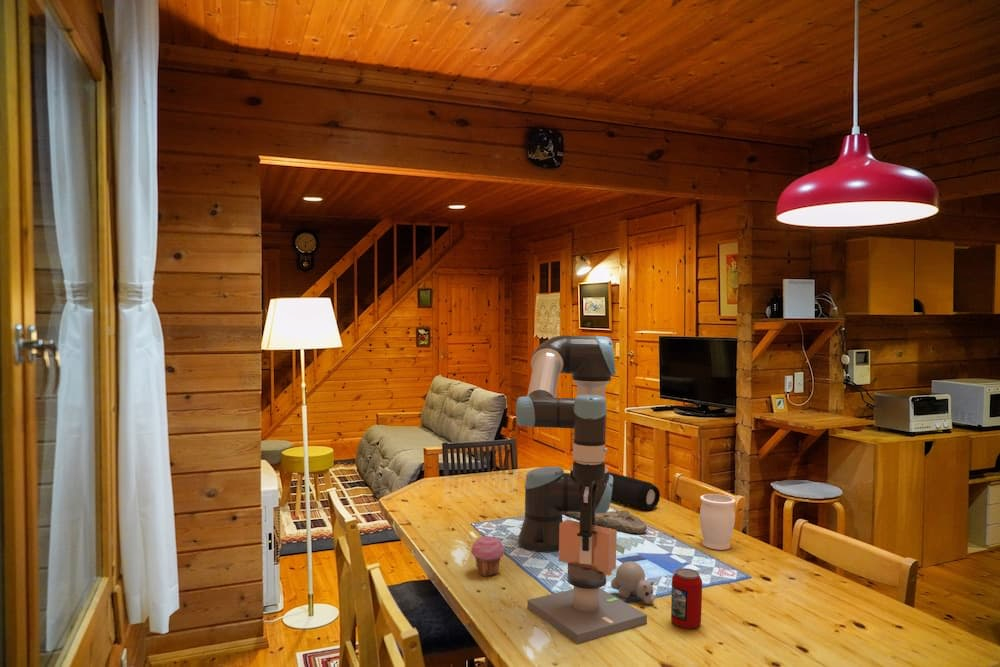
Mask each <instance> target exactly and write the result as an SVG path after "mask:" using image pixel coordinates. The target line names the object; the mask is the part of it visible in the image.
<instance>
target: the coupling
mask: <svg viewBox="0 0 1000 667" xmlns="http://www.w3.org/2000/svg"><path fill="white" fill-rule="evenodd" d="M579 532H580V521H577V520H573V519H565V520H563V522H561V523H560V524H559V550H558V561H559V562H563V563H566V564H567V582H568V584H569V585H570V586H571V585H572V586H573V587H574V586H575V587H579V588H584V589H595V588H603V587H604V586H606V583H607V576H612V575H613V572H612V571H614V570H615V569H616V568H617V540H618V539H617V538H618V537H617V535H618V534H617V532H618V530H615V529H610V528H606V527H604V526H601V525H597V526H596V525H592V530H591V533H592V564H581V563H580V536H577V533H579Z"/></svg>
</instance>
